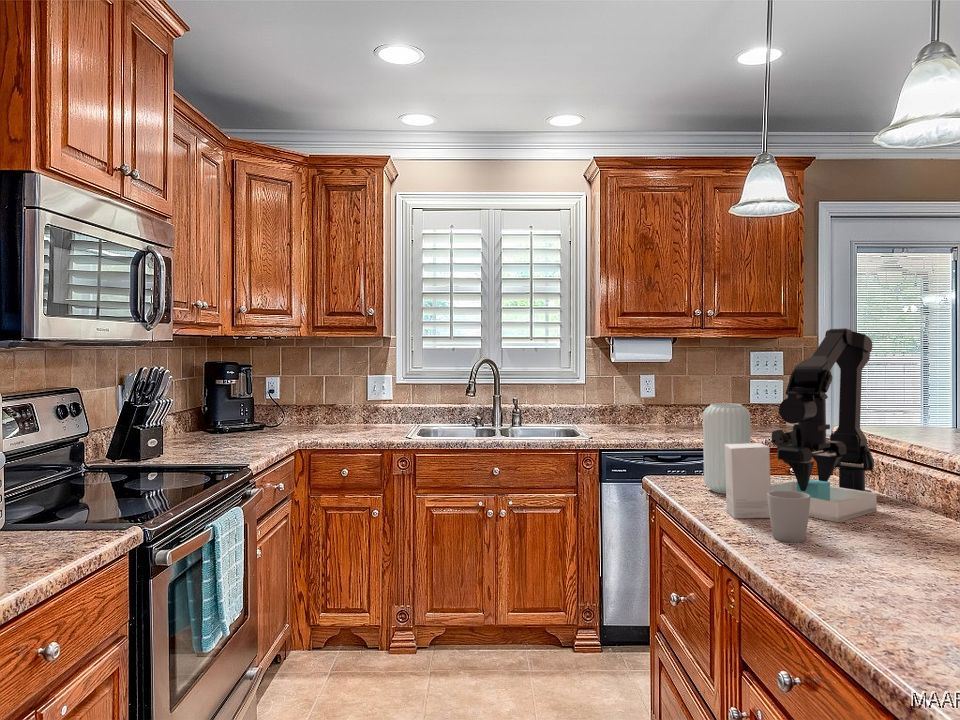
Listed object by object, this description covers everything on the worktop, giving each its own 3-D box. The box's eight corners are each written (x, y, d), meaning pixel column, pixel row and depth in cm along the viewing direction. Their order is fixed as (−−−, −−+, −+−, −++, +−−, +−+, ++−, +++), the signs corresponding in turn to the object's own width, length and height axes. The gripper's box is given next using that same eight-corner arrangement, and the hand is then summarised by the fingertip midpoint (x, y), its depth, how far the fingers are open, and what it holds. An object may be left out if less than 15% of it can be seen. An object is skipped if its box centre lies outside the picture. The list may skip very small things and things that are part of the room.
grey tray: (791, 496, 168) (791, 480, 168) (876, 511, 151) (876, 493, 151) (752, 505, 159) (752, 488, 159) (838, 522, 142) (838, 503, 142)
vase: (745, 486, 181) (744, 402, 181) (756, 495, 170) (755, 406, 169) (700, 486, 183) (699, 403, 182) (708, 495, 171) (707, 406, 171)
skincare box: (763, 512, 153) (762, 442, 152) (773, 519, 146) (772, 446, 146) (724, 512, 153) (723, 442, 153) (732, 519, 147) (731, 447, 147)
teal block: (808, 500, 159) (808, 479, 159) (830, 504, 154) (829, 482, 154) (796, 503, 156) (796, 481, 156) (818, 507, 152) (817, 484, 152)
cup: (767, 542, 129) (767, 497, 129) (767, 529, 138) (767, 487, 138) (812, 545, 126) (811, 499, 126) (809, 532, 135) (808, 489, 135)
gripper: (801, 414, 167) (802, 478, 167) (755, 420, 156) (756, 488, 156) (847, 417, 158) (848, 485, 158) (801, 424, 147) (802, 496, 147)
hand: (812, 488), depth 155 cm, fingers open, 8 cm apart
